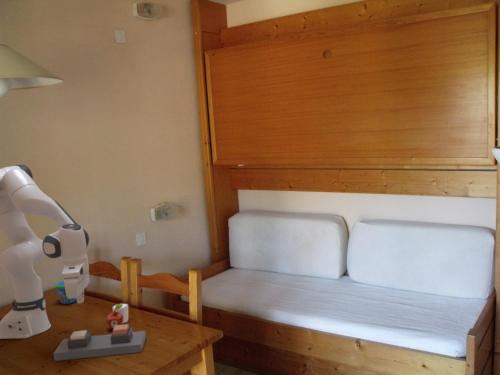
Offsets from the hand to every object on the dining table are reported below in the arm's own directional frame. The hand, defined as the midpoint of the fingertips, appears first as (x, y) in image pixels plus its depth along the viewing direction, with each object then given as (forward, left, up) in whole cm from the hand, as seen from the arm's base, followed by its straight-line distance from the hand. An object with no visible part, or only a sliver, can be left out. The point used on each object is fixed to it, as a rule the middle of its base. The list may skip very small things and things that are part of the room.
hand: (80, 302), depth 190 cm
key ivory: (-2, 0, -15) cm, 15 cm away
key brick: (+14, 0, -14) cm, 20 cm away
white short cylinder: (+9, +28, -20) cm, 36 cm away
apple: (+8, +20, -20) cm, 29 cm away
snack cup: (-23, +62, -20) cm, 69 cm away
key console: (+6, 0, -20) cm, 20 cm away
